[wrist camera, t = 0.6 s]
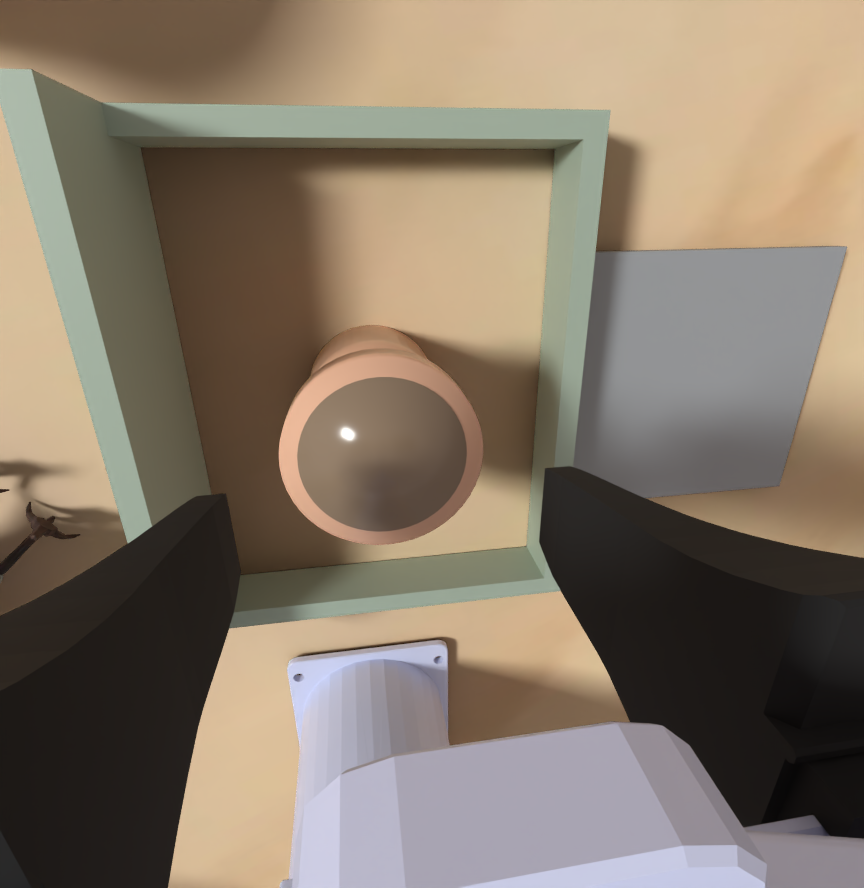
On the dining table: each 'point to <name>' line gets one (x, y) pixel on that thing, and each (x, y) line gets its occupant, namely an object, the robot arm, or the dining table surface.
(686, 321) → the slate mat
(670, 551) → the robot arm
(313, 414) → the terracotta pot
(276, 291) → the dining table surface
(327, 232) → the dining table surface
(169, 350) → the frame
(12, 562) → the decorative bird
